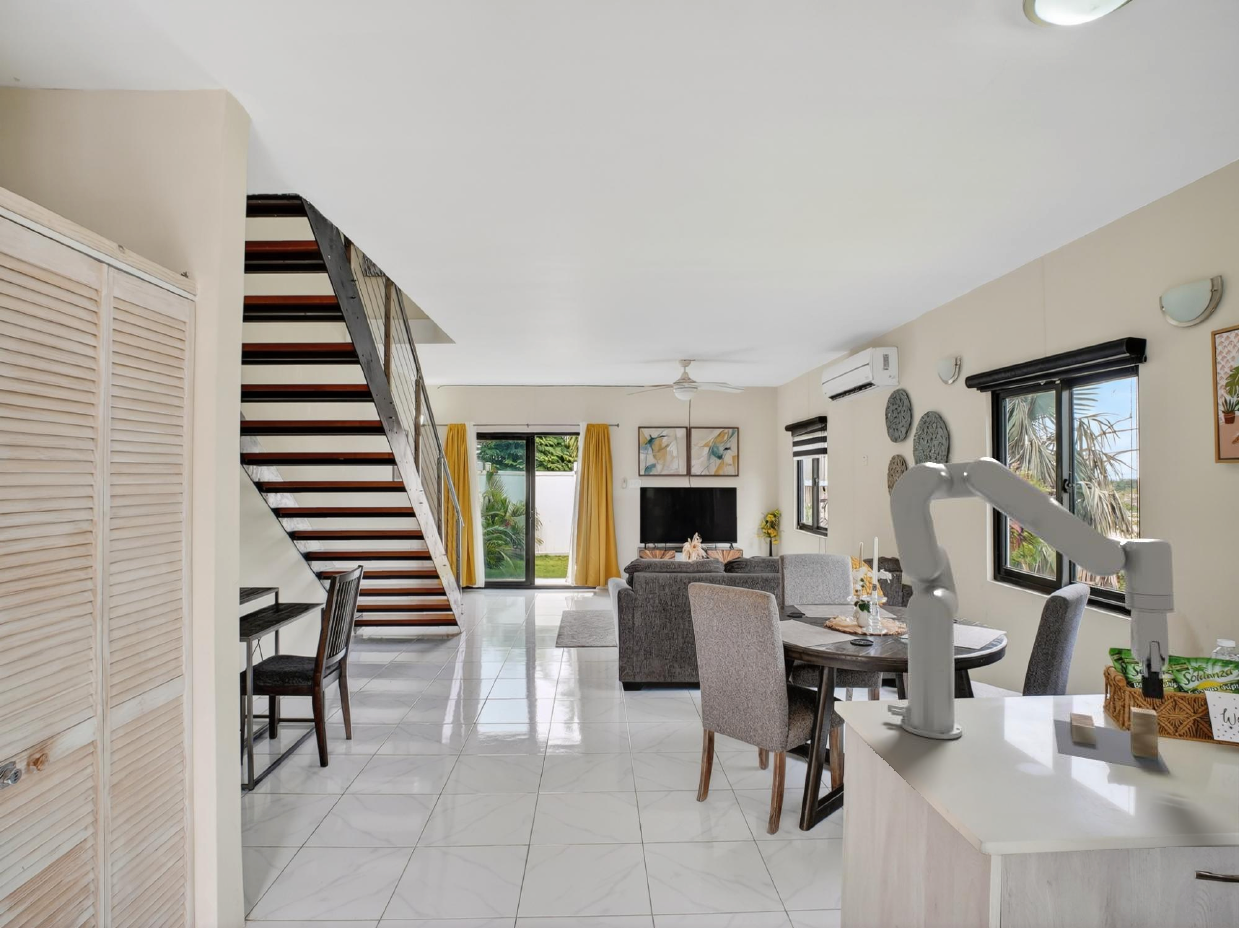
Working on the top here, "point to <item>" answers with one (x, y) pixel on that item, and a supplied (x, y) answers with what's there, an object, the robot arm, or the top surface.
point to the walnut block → (1082, 728)
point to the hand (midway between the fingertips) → (1152, 697)
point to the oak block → (1144, 733)
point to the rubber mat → (1104, 747)
